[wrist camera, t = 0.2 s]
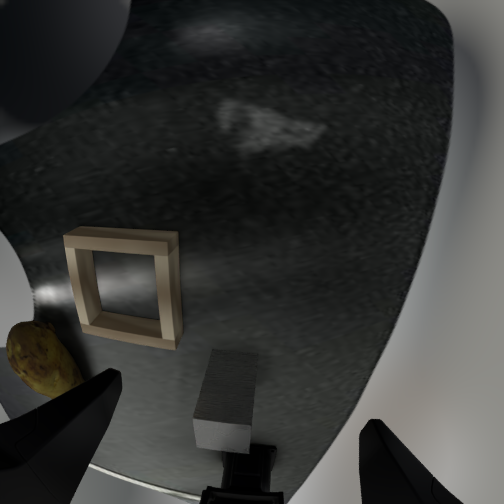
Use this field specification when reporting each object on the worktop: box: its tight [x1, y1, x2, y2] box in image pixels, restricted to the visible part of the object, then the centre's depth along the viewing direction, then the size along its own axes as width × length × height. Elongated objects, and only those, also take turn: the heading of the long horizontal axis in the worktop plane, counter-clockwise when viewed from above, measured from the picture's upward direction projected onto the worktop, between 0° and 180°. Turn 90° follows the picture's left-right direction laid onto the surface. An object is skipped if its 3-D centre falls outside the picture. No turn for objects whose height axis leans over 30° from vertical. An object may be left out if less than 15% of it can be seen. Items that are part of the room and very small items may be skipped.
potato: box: [6, 320, 85, 399], centre depth 24 cm, size 8×13×8 cm, turn 163°
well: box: [63, 226, 184, 350], centre depth 22 cm, size 9×9×2 cm
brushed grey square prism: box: [193, 349, 258, 454], centre depth 22 cm, size 4×4×8 cm
